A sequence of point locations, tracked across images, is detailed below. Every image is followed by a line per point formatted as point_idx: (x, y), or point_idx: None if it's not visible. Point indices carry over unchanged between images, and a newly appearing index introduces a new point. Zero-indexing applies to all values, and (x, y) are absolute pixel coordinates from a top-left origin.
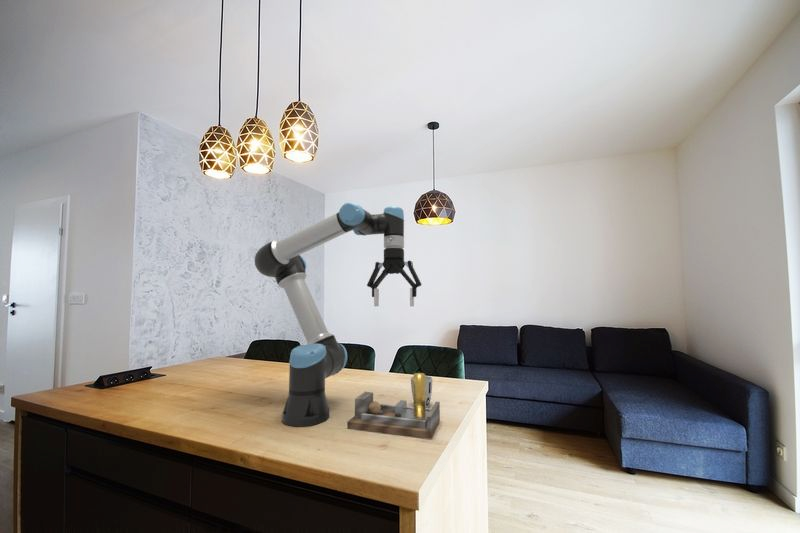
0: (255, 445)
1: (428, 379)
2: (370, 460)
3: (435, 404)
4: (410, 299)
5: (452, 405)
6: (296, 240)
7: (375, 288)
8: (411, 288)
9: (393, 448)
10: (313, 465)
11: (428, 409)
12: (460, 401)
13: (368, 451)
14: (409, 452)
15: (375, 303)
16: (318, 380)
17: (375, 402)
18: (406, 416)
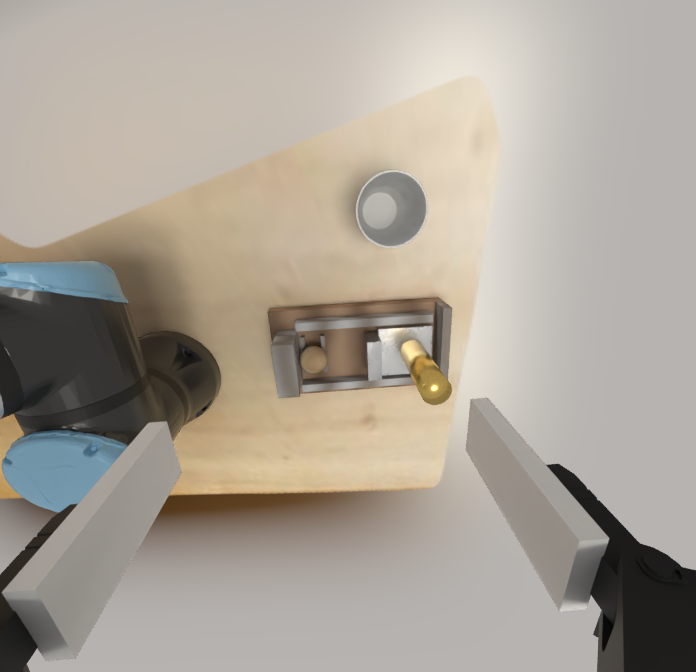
0: (192, 478)
1: (407, 178)
2: (368, 457)
3: (445, 327)
4: (496, 491)
5: (456, 176)
6: None
7: (26, 636)
8: (577, 602)
9: (386, 421)
10: (307, 488)
11: (424, 319)
12: (477, 128)
13: (355, 440)
14: (411, 424)
15: (166, 491)
16: (175, 433)
17: (316, 367)
18: (389, 369)
